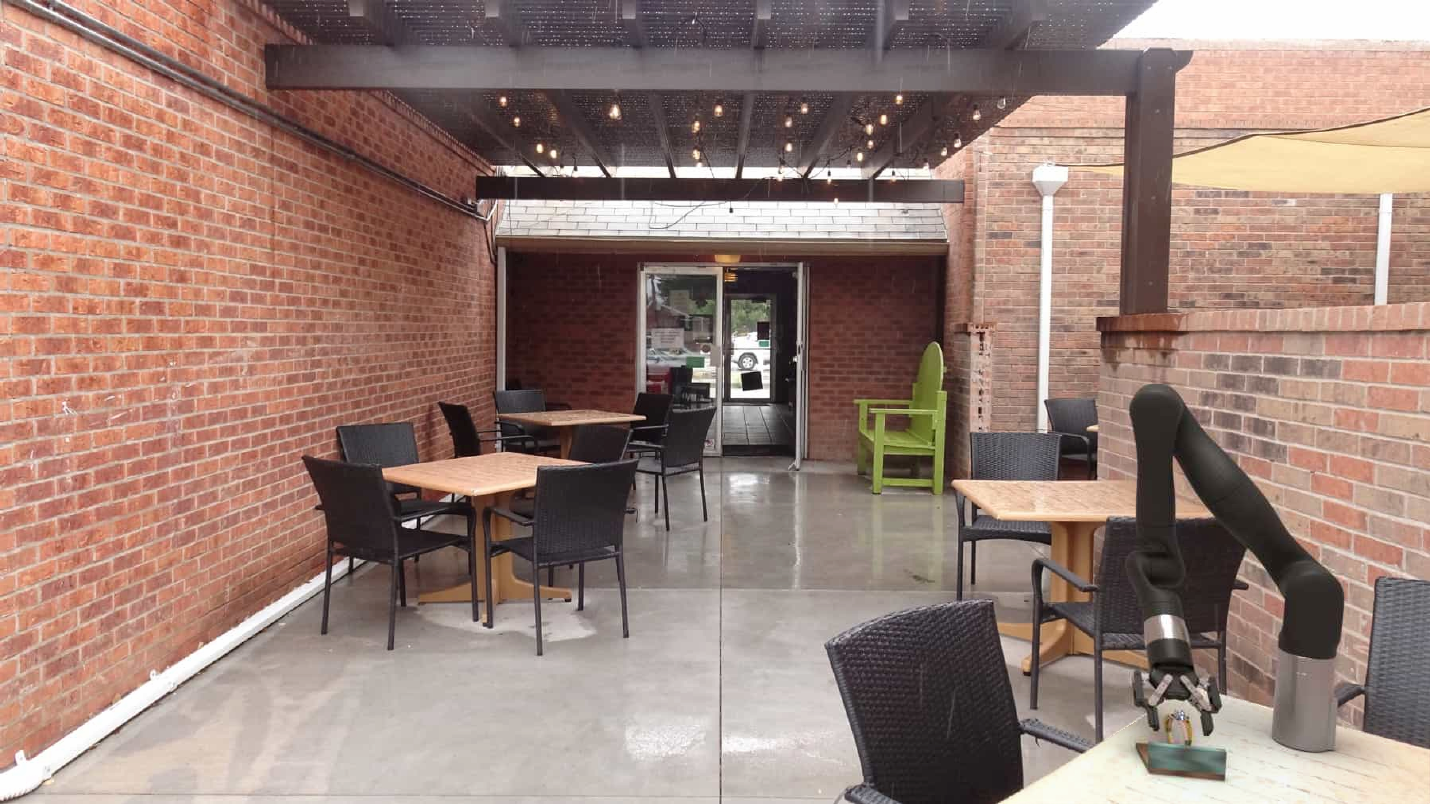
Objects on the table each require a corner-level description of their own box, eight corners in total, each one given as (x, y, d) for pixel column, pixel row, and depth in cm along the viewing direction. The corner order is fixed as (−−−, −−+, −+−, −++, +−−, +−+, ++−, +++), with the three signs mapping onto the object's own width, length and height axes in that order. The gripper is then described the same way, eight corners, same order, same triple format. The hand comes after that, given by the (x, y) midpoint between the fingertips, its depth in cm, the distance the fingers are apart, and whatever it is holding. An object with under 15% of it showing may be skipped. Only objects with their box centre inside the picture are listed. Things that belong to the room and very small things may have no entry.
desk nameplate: (1206, 754, 172) (1208, 727, 171) (1225, 780, 162) (1226, 752, 162) (1135, 747, 174) (1136, 721, 174) (1149, 773, 164) (1150, 744, 164)
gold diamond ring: (1194, 764, 166) (1197, 719, 165) (1176, 763, 166) (1178, 719, 165) (1176, 746, 173) (1179, 703, 172) (1158, 746, 173) (1161, 702, 172)
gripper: (1130, 633, 175) (1142, 719, 165) (1215, 639, 173) (1232, 727, 162) (1122, 651, 181) (1133, 736, 171) (1204, 658, 178) (1220, 744, 168)
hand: (1182, 732), depth 167 cm, fingers open, 8 cm apart
